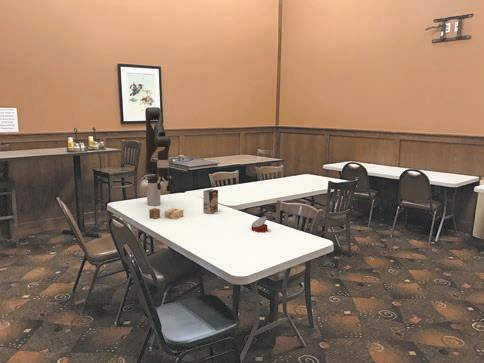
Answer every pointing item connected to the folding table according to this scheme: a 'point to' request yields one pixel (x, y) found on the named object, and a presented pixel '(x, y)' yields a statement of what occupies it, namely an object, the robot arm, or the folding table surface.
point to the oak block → (173, 213)
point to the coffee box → (210, 201)
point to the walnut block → (154, 213)
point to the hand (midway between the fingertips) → (163, 190)
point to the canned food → (259, 225)
